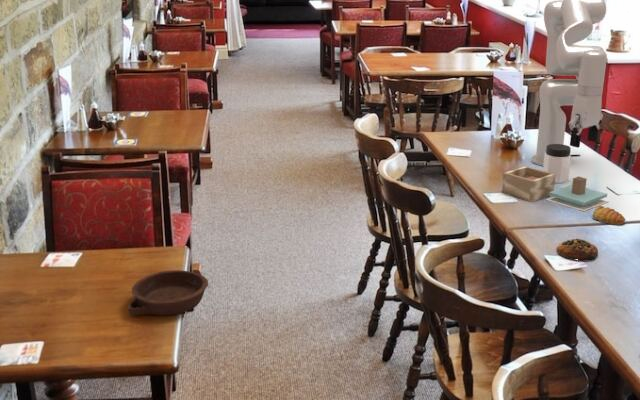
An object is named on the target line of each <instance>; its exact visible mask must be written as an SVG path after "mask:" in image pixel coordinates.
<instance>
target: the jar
mask: <svg viewBox="0 0 640 400" xmlns="http://www.w3.org/2000/svg"><path fill="white" fill-rule="evenodd" d="M571 151H572V150H571V146H570V145H567V144H563V145H562V144H550V145H547V147H546V153H545V156H544V166H542V167H543V169H542V171H545V172H549V173H552V174H556V175H555V184H562V183H563V184H564V183H566V182H569V178H570V168H571V159H572V156H571Z"/></svg>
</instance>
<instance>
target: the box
mask: <svg viewBox="0 0 640 400" xmlns="http://www.w3.org/2000/svg"><path fill="white" fill-rule="evenodd" d="M502 175H503V177H502V187H501V188H502V189H501V190H502V191H501V193H502V194H504V195H508V196H511V197H514V198H518V199H521V200H524V201H527V202H531V203H533V202H536V201H539V200H541V199H545V198H546V197H551V196H550V195H549V192H552V191H554V190H555V184H556V183H555V175H556V174H552V173H549V172H545V171H543V170H541V169H537V168H533V167H531V166H527V165H526V166H525V165H524V166H522V167H519V168H518V167H517V168H515V169H512V170H509V171H506V172H503V174H502Z"/></svg>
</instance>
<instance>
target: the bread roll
mask: <svg viewBox="0 0 640 400" xmlns="http://www.w3.org/2000/svg"><path fill="white" fill-rule="evenodd" d="M556 252H557V253H558V255H561V257H563V258H565V257H566V259H568V258H571V259H578V260H591V259H594V260H595V259H596V258H597V257H598V254H599V251H598V247H597V246H596V245H594V244H593V243H591V242H589V241H587V240H585V239H581V238H572V239H570V240H569V239H568V240H565V241H562V242H560V243H559V244H558V246H556ZM595 257H596V258H595ZM571 259H570V260H571ZM591 261H592V260H591Z"/></svg>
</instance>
